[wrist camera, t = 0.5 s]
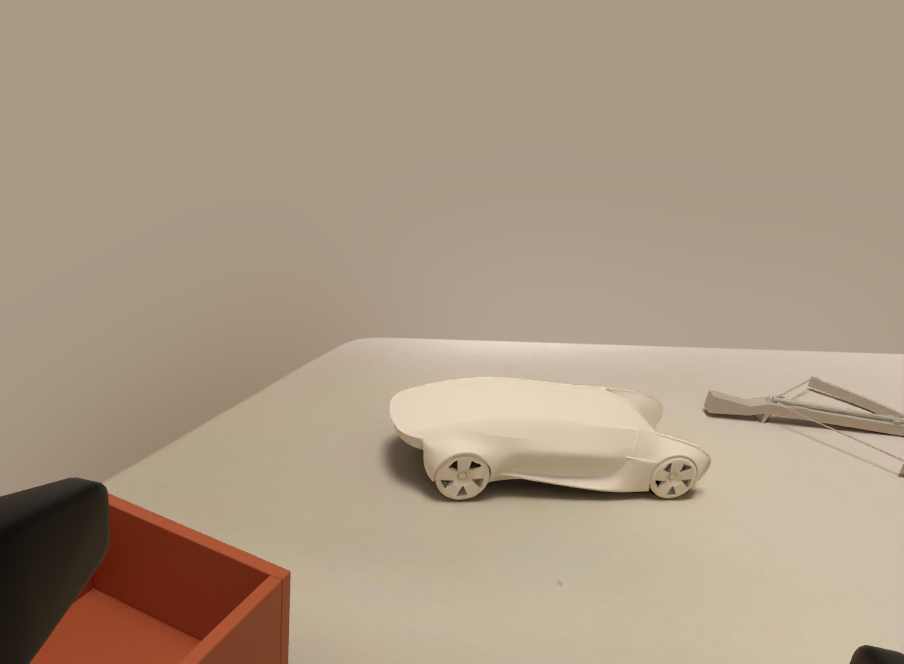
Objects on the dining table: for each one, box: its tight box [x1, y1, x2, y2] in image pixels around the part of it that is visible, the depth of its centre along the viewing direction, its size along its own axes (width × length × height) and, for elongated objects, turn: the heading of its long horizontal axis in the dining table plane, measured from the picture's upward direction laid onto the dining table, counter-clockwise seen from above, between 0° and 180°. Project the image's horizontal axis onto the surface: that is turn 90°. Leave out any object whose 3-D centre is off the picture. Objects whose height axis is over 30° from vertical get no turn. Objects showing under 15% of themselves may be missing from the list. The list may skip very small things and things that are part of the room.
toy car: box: [389, 377, 711, 500], centre depth 40 cm, size 18×8×4 cm, turn 99°
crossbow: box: [704, 377, 904, 473], centre depth 50 cm, size 16×13×2 cm
